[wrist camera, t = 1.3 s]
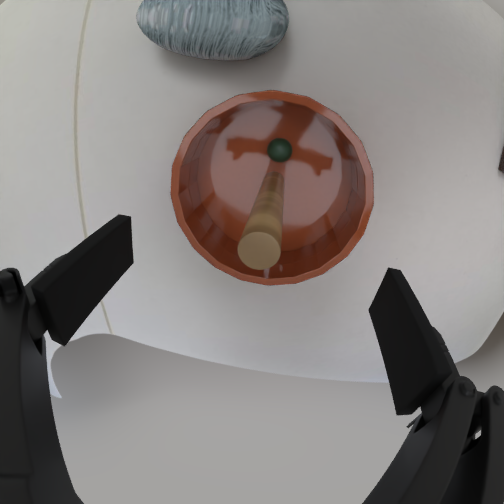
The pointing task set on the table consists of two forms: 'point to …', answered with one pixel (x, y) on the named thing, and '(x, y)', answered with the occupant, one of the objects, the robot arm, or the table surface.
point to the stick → (264, 225)
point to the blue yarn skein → (214, 26)
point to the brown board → (502, 162)
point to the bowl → (251, 176)
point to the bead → (279, 150)
